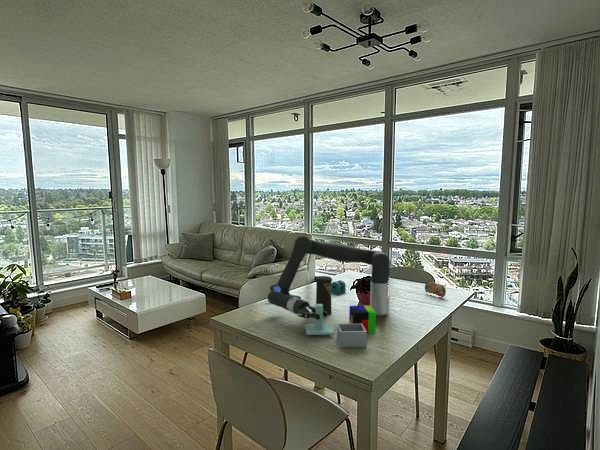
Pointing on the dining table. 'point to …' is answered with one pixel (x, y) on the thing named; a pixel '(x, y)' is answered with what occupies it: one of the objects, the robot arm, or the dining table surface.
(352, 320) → the puzzle toy
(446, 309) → the dining table surface
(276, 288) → the handheld game console
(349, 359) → the dining table surface
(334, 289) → the teal rounded piece
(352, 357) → the dining table surface
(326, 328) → the lid
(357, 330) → the tub
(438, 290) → the wooden scrub brush
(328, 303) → the container
